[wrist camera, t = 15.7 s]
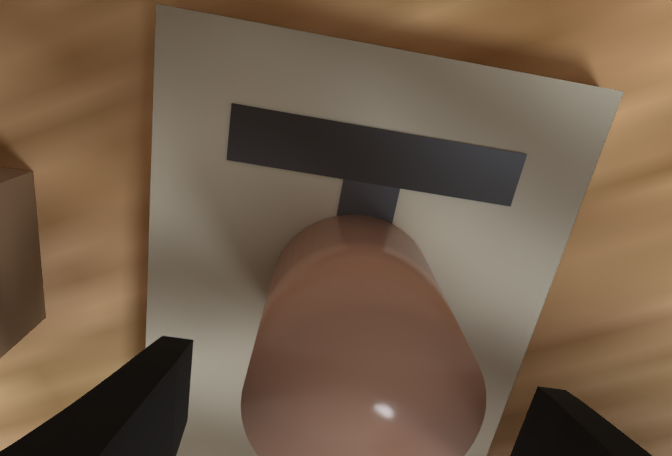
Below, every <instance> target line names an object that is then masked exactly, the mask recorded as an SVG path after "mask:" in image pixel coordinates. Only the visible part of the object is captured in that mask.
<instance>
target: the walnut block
mask: <svg viewBox="0 0 672 456" xmlns="http://www.w3.org/2000/svg"><path fill="white" fill-rule="evenodd" d="M45 318H46V314H45V303H44V291H43V279H42V268H41V256H40V245H39V233H38V222H37V210H36V199H35V187H34V175H33V171H29V170H21V169H14V168H6V167H0V358H1V357H2V356H3V355H5V354H6V353H7V352H8V351H9V350H10V349H11V348H12V347H13V346H15V345H16V344H17V343H18V342H19V341H20V340H21V339H22V338H23V337H25V336H26V335H27V334H28V333H29V332H30V331H31V330H32V329H33V328H35V327H36V326H37V325H38V324H39V323H40V322H41V321H42V320H44V319H45Z"/></svg>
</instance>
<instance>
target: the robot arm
mask: <svg viewBox="0 0 672 456" xmlns="http://www.w3.org/2000/svg"><path fill="white" fill-rule="evenodd" d="M192 353H193V340H191V339H184V338H176V337H169V336H161V337H160V338H159V339H157V340H156V341H154V342H153V343H152V344H150V345H149V346H148V347H147V348H145V349H144V350H143V351H141V352H140V353H139V354H138V355H136V356H135V357H134V358H133V359H131V360H130V361H129V362H127V363H126V364H125V365H124V366H122V367H121V368H120V369H118V370H117V371H116V372H114V373H113V374H112V375H111V376H109V377H108V378H107V379H105V380H104V381H102V382H101V383H100V384H98V385H97V386H96V387H94V388H93V389H92V390H90V391H89V392H88V393H86V394H85V395H83V396H82V397H81V398H79V399H78V400H77V401H75V402H74V403H72V404H71V405H70V406H68V407H67V408H65V409H64V410H63V411H61V412H60V413H58V414H57V415H55V416H54V417H52V418H51V419H49V420H48V421H46V422H45V423H43V424H42V425H40V426H39V427H37V428H36V429H34V430H33V431H31V432H30V433H28V434H27V435H25V436H24V437H22V438H21V439H19V440H18V441H16V442H15V443H13V444H12V445H10V446H8V447H7V448H5V449H4V450H2V451H0V456H176V455H177V452H178V449H179V445H180V442H181V439H182V436H183V433H184V430H185V427H186V424H187V420H188V407H189V393H190V380H191V366H192ZM510 456H652V455H650V454H649V453H648V452H647V451H645V450H644V449H643V448H642V447H640V446H639V445H638V444H636V443H635V442H634V441H633V440H631V439H630V438H629V437H628V436H626V435H625V434H624V433H622V432H621V431H620V430H619V429H617V428H616V427H615V426H613V425H612V424H611V423H610V422H608V421H607V420H606V419H604V418H603V417H602V416H601V415H599V414H598V413H597V412H595V411H594V410H593V409H591V408H590V407H589V406H587V405H586V404H585V403H583V402H582V401H580V400H579V399H578V398H576V397H575V396H573V395H572V394H570V393H569V392H567V391H566V390H560V389H553V388H545V387H537V390H536V392H535V395H534V397H533V400H532V402H531V405H530V407H529V410H528V412H527V415H526V417H525V420H524V422H523V425H522V427H521V430H520V432H519V435H518V437H517V440H516V442H515V445H514V448H513V450H512V453H511V455H510Z"/></svg>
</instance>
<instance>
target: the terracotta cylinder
mask: <svg viewBox="0 0 672 456" xmlns="http://www.w3.org/2000/svg"><path fill="white" fill-rule="evenodd" d="M485 410H486V387H485V381H484V377H483V374H482V371H481V368H480V366H479V364H478V362H477V360H476V358H475V356H474V354H473V352H472V350H471V348H470V346H469V344H468V342H467V340H466V338H465V336H464V334H463V332H462V330H461V328H460V326H459V324H458V322H457V320H456V318H455V316H454V314H453V313H452V311H451V309H450V307H449V305H448V303H447V301H446V299H445V297H444V295H443V293H442V291H441V289H440V287H439V285H438V283H437V281H436V279H435V277H434V275H433V273H432V271H431V269H430V267H429V265H428V263H427V261H426V259H425V257H424V255H423V253H422V251H421V250H420V248H419V247H418V245H417V244H416V243H415V242H414V240H413V239H412V238H411V237H410V236H409V235H408V234H406V233H405V232H404V231H402V230H401V229H400V228H398V227H396V226H395V225H393V224H391V223H389V222H387V221H384V220H382V219H378V218H375V217H371V216H365V215H340V216H334V217H330V218H326V219H324V220H321V221H318V222H316V223H314V224H312V225H310V226H308V227H306V228H305V229H304V230H302V231H301V232H299V233H298V234H297V235H296V236H295V237H294V238H293V239H291V240H290V242H289V243H288V244H287V245H286V246H285V248H284V249H283V251H282V252H281V254H280V256H279V257H278V260H277V262H276V264H275V267H274V271H273V275H272V278H271V282H270V286H269V290H268V294H267V297H266V301H265V305H264V309H263V313H262V316H261V320H260V324H259V328H258V332H257V336H256V339H255V343H254V347H253V351H252V355H251V358H250V362H249V366H248V370H247V374H246V378H245V381H244V385H243V389H242V395H241V418H242V422H243V427H244V430H245V433H246V435H247V438H248V440H249V442H250V444H251V446H252V447H253V449H254V451H255V453H256V454H257V455H258V456H464V455H465V454H466V453H467V452H468V450H469V449H470V447H471V446H472V444H473V443H474V441H475V439H476V437H477V435H478V433H479V432H480V429H481V426H482V423H483V420H484V416H485Z"/></svg>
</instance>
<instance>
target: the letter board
mask: <svg viewBox="0 0 672 456" xmlns="http://www.w3.org/2000/svg"><path fill="white" fill-rule="evenodd" d="M623 92H624V91H618V90H613V89H608V88H602V87H597V86H592V85H586V84H581V83H576V82H570V81H565V80H560V79H555V78H549V77H544V76H539V75H533V74H528V73H523V72H517V71H512V70H507V69H501V68H496V67H491V66H485V65H480V64H475V63H469V62H464V61H459V60H453V59H448V58H443V57H438V56H432V55H427V54H422V53H416V52H411V51H406V50H400V49H395V48H390V47H384V46H379V45H374V44H368V43H363V42H358V41H352V40H347V39H342V38H337V37H331V36H326V35H321V34H315V33H310V32H305V31H299V30H294V29H289V28H283V27H278V26H273V25H267V24H262V23H257V22H251V21H246V20H241V19H236V18H230V17H225V16H220V15H214V14H209V13H204V12H198V11H193V10H188V9H182V8H177V7H172V6H166V5H161V4H156V19H155V52H154V85H153V118H152V151H151V184H150V216H149V249H148V282H147V315H146V348H147V347H148V346H149V345H150V344H152V343H153V342H154V341H156V340H157V339H159V338H160V337H161V336H169V337H176V338H184V339H191V340H193V353H192V366H191V380H190V393H189V407H188V420H187V424H186V427H185V430H184V433H183V436H182V439H181V442H180V445H179V449H178V452H177V455H176V456H258V455H257V454H256V453H255V451H254V449H253V447H252V446H251V444H250V442H249V440H248V438H247V435H246V433H245V430H244V427H243V422H242V418H241V395H242V389H243V385H244V381H245V378H246V374H247V370H248V366H249V362H250V358H251V355H252V351H253V347H254V343H255V339H256V336H257V332H258V328H259V324H260V320H261V316H262V313H263V309H264V305H265V301H266V297H267V294H268V290H269V286H270V282H271V278H272V275H273V271H274V267H275V264H276V262H277V260H278V257H279V256H280V254H281V252H282V251H283V249H284V248H285V246H286V245H287V244H288V243H289V242H290V240H291V239H293V238H294V237H295V236H296V235H297V234H298V233H299V232H301V231H302V230H304V229H305V228H306V227H308V226H310V225H312V224H314V223H316V222H318V221H321V220H324V219H326V218H330V217H334V216H340V215H365V216H371V217H375V218H378V219H382V220H384V221H387V222H389V223H391V224H393V225H395V226H396V227H398V228H400V229H401V230H402V231H404V232H405V233H406V234H408V235H409V236H410V237H411V238H412V239H413V240H414V242H415V243H416V244H417V245H418V247H419V248H420V250H421V251H422V253H423V255H424V257H425V259H426V261H427V263H428V265H429V267H430V269H431V271H432V273H433V275H434V277H435V279H436V281H437V283H438V285H439V287H440V289H441V291H442V293H443V295H444V297H445V299H446V301H447V303H448V305H449V307H450V309H451V311H452V313H453V314H454V316H455V318H456V320H457V322H458V324H459V326H460V328H461V330H462V332H463V334H464V336H465V338H466V340H467V342H468V344H469V346H470V348H471V350H472V352H473V354H474V356H475V358H476V360H477V362H478V364H479V366H480V368H481V371H482V374H483V377H484V381H485V387H486V410H485V416H484V420H483V423H482V426H481V429H480V432H479V433H478V435H477V437H476V439H475V441H474V443H473V444H472V446H471V447H470V449H469V450H468V452H467V453H466V454H465V455H464V456H487V453H488V451H489V448H490V445H491V443H492V440H493V437H494V435H495V432H496V430H497V427H498V424H499V422H500V419H501V416H502V414H503V411H504V408H505V406H506V403H507V400H508V398H509V395H510V392H511V390H512V387H513V384H514V382H515V379H516V376H517V374H518V371H519V368H520V366H521V363H522V360H523V358H524V355H525V353H526V350H527V347H528V345H529V342H530V339H531V337H532V334H533V331H534V329H535V326H536V323H537V321H538V318H539V315H540V313H541V310H542V307H543V305H544V302H545V299H546V297H547V294H548V291H549V289H550V286H551V283H552V281H553V278H554V276H555V273H556V270H557V268H558V265H559V262H560V260H561V257H562V254H563V252H564V249H565V246H566V244H567V241H568V238H569V236H570V233H571V230H572V228H573V225H574V222H575V220H576V217H577V214H578V212H579V209H580V206H581V204H582V201H583V199H584V196H585V193H586V191H587V188H588V185H589V183H590V180H591V177H592V175H593V172H594V169H595V167H596V164H597V161H598V159H599V156H600V153H601V151H602V148H603V145H604V143H605V140H606V137H607V135H608V132H609V129H610V127H611V124H612V122H613V119H614V116H615V114H616V111H617V108H618V106H619V103H620V100H621V98H622V95H623Z"/></svg>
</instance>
